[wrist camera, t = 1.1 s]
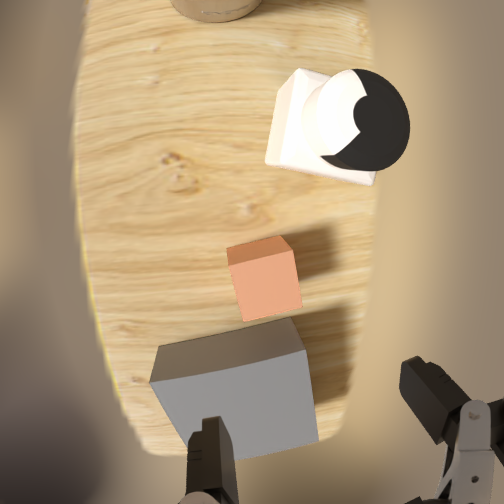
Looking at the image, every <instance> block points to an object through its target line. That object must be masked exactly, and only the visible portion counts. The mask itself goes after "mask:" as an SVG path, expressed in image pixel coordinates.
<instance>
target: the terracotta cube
mask: <svg viewBox="0 0 504 504" xmlns="http://www.w3.org/2000/svg"><path fill="white" fill-rule="evenodd" d="M227 257H228V265H229V269H230V273H231V277H232V281H233V285H234V289H235V292H236V296H237V300H238V304H239V308H240V311H241V315H242V319H243V322H246V321H250V320H254V319H258V318H263V317H267V316H271V315H274V314H278V313H282V312H286V311H290V310H294V309H297V308H301V307H303V306H302V300H301V294H300V288H299V282H298V276H297V270H296V265H295V259H294V254H293V250H292V249H291V247H290V246H289V245H288V244H287V243H286V242H285V240H284V239H283V238H282V237H281V236H276V237H271V238H267V239H263V240H259V241H255V242H250V243H246V244H242V245H238V246H234V247H230V248H227Z"/></svg>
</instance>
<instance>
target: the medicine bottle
mask: <svg viewBox="0 0 504 504" xmlns="http://www.w3.org/2000/svg"><path fill="white" fill-rule="evenodd" d="M409 134H410V120H409V115H408V111H407V108H406V105H405V103H404V101H403V99H402V97H401V96H400V94H399V92H398V91H397V90H396V89H395V87H394V86H393V85H392V84H391V83H389V81H387V80H386V79H384V78H383V77H381V76H380V75H378V74H376V73H374V72H371V71H368V70H363V69H350V70H345V71H342V72H340V73H338V74H336V75H334V76H333V77H332V76H329V75H325V74H322V73H319V72H315V71H312V70H308V69H304V68H298V69H297V70H296V71H295V72H294V73H293V74H292V75H291V76H290V78H289V79H288V80H287V81H286V82H285V83H284V84H283V86H282V87H281V88H280V89H279V90H278V93H277V99H276V104H275V110H274V115H273V120H272V126H271V131H270V136H269V142H268V147H267V153H266V158H265V163H266V165H268V166H273V167H279V168H284V169H289V170H293V171H298V172H303V173H307V174H312V175H316V176H321V177H325V178H330V179H334V180H339V181H345V182H350V183H356V184H361V185H367V186H371V185H373V184H374V181H375V176H376V171H379V170H383V169H385V168H387V167H389V166H391V165H392V164H394V163H395V162H396V161H397V160H398V159H399V158H400V157H401V155H402V154H403V152H404V151H405V149H406V146H407V143H408V140H409Z"/></svg>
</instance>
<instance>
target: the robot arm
mask: <svg viewBox="0 0 504 504" xmlns="http://www.w3.org/2000/svg"><path fill="white" fill-rule="evenodd" d="M261 1H262V0H171V2H172V4H173V6H174V7H175V8H176V9H177V10H178V11H179V12H180V13H182V14H183V15H185V16H186V17H189V18H191V19H194V20H198V21H203V22H215V23H216V22H226V21H230V20H235V19H238V18H240V17H243V16H245V15H247V14H248V13H250V12H252V11H253V10H254V9H255V8H256V7H257V6H258V5H259V4H260V3H261ZM399 389H400V393H401V395H402V397H403V399H404V400H405V401H406V403H407V404H408V406H409V407H410V408H411V410H412V411H413V412H414V414H415V415H416V417H417V418H418V419H419V421H420V422H421V424H422V425H423V426H424V428H425V429H426V431H427V432H428V433H429V435H430V436H431V438H432V439H433V441H434V442H435V444H436V445H438V444H439V443H441V442H443V441H445V442H446V444H447V446H446V451H445V457H444V463H443V468H442V473H441V479H440V482H439V486H438V488H437V491H436V493H435V496H434V499H428V500H423V501H422V500H421V498H420V496H419V497H417V498H415V499H413V500H411V501H409V502H407V503H405V504H490V499H491V492H492V483H493V473H494V459H495V454H496V456H497V457H498V459H499V460H500V462H501V463H502V465H503V466H504V398H503V399H500V400H497V401H494V402H491V403H487V404H486V403H485V402H483V401H481V400H471V399H470V398H469V397H468V396H467V394H466V393H465V392H464V391H463V390H462V389H461V388H460V387H459V386H458V385H457V384H456V383H455V382H454V381H453V380H451V377H450V376H449V375H447V374H446V372H445V371H444V370H443V369H442V368H441V367H440V366H438V365H436V364H434V363H432V362H429V363H425V362H424V361H423V360H422V359H421V358H420V357H419V356H415V357H413V358H411V359H408V360H406V361H404V362H402V365H401V374H400V383H399ZM490 447H491V448H492V450H491V449H490ZM187 461H188V462H187V479H186V480H187V481H186V494H185V496H184V497H183V498H182V499H181V501H180V502H179V503H178V504H239V500H238V490H237V481H236V472H235V462H234V451H233V444H232V440H231V437H230V435H229V433H228V431H227V428H226V426H225V424H224V422H223V420H222V418H221V416H215V417H209V418H203V419H202V431H196V432H193V433H192V435H191V437H190V439H189V441H188V454H187Z"/></svg>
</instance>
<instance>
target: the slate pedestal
mask: <svg viewBox="0 0 504 504" xmlns="http://www.w3.org/2000/svg"><path fill="white" fill-rule="evenodd" d="M149 383H150V385H151V387H152V389H153V391H154V393H155V394H156V396H157V398H158V400H159V402H160V403H161V405H162V407H163V409H164V410H165V412H166V414H167V416H168V417H169V419H170V421H171V422H172V424H173V426H174V427H175V429H176V431H177V432H178V434H179V435H180V437H181V439H182V440H183V442H184V443H185V445H186V446H187V448H188V441H189V439H190V437H191V435H192V433H193V432H196V431H202V419H203V418H209V417H215V416H221V418H222V420H223V422H224V424H225V426H226V428H227V431H228V433H229V435H230V437H231V440H232V444H233V451H234V461H235V460H240V459H246V458H251V457H257V456H261V455H266V454H271V453H275V452H280V451H283V450H288V449H292V448H296V447H299V446H303V445H307V444H310V443H314V442H317V441H319V438H318V430H317V423H316V415H315V408H314V400H313V393H312V386H311V379H310V373H309V366H308V359H307V353H306V348H305V346H304V344H303V342H302V340H301V338H300V336H299V334H298V332H297V329H296V327H295V325H294V323H293V321H292V319H291V317H288V318H284V319H280V320H276V321H272V322H268V323H264V324H260V325H256V326H252V327H248V328H244V329H239V330H235V331H231V332H226V333H222V334H217V335H213V336H208V337H204V338H199V339H194V340H189V341H184V342H179V343H174V344H169V345H163V346H159V347H158V351H157V355H156V358H155V362H154V366H153V370H152V374H151V378H150V381H149Z"/></svg>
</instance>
